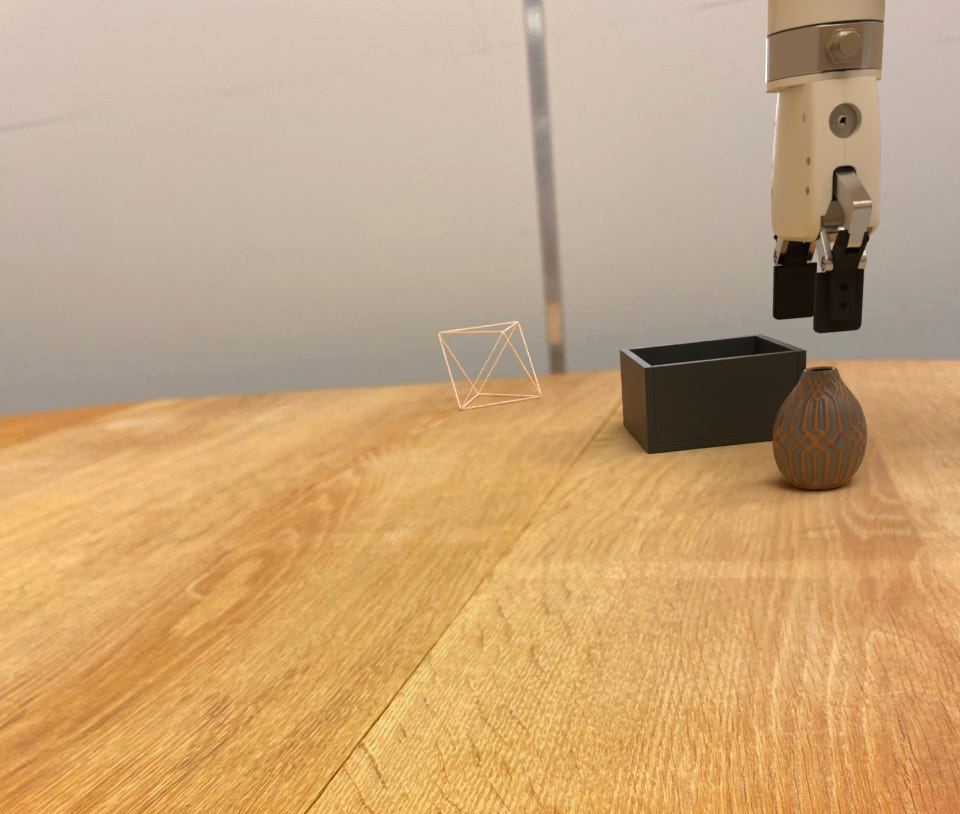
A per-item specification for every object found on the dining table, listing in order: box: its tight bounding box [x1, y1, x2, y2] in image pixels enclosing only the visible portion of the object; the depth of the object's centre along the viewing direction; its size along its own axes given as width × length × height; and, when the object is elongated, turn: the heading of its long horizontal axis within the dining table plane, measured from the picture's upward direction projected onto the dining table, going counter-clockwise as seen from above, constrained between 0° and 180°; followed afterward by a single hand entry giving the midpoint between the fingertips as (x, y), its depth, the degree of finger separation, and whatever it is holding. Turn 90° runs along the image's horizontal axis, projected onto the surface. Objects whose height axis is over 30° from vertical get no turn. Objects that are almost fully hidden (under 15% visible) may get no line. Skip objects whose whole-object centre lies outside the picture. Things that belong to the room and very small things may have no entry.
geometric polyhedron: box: [437, 320, 543, 411], centre depth 133 cm, size 12×11×9 cm
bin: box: [619, 333, 807, 454], centre depth 103 cm, size 15×15×8 cm
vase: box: [771, 365, 868, 491], centre depth 81 cm, size 7×7×9 cm
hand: (814, 324), depth 78 cm, fingers open, 9 cm apart
